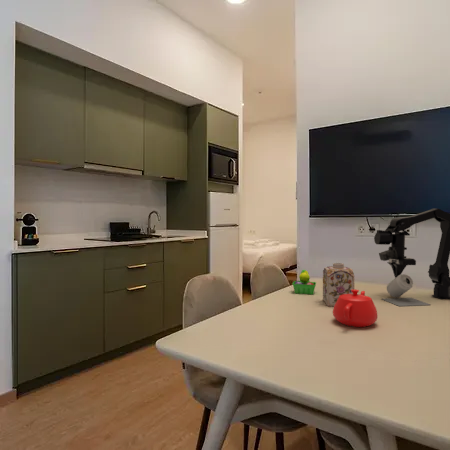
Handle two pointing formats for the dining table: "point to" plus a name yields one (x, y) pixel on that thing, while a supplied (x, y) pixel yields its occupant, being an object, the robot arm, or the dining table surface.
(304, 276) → the fruit basket
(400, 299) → the mat
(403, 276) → the can
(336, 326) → the dining table surface
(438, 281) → the robot arm
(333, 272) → the decorative jar
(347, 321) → the teapot
